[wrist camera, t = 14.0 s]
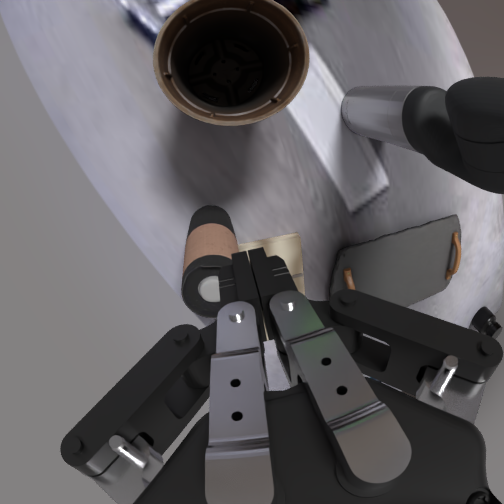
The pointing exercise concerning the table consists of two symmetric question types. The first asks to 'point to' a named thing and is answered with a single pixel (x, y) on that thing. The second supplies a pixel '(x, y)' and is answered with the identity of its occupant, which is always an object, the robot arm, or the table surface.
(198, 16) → the plant pot
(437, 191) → the table surface
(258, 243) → the flat beige board
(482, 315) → the ink bottle
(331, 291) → the serving board
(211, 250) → the travel mug
